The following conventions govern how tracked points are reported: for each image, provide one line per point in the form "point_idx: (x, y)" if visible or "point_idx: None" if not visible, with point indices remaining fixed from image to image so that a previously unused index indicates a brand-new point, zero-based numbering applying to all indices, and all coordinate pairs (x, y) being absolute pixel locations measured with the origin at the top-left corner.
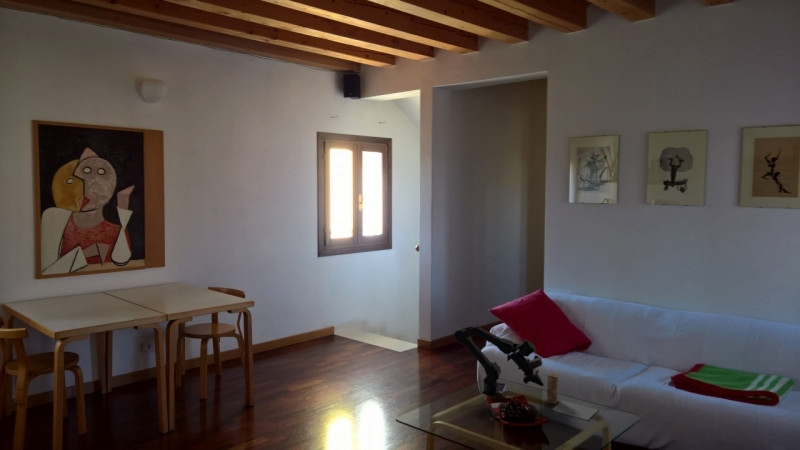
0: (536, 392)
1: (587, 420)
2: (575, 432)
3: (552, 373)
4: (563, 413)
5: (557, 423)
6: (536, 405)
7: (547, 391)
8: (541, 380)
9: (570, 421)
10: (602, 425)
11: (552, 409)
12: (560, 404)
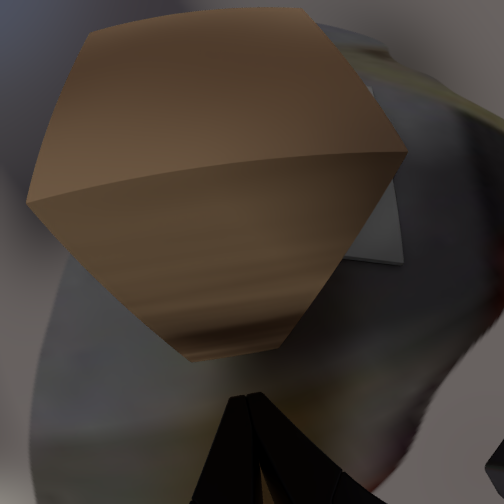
0: (89, 487)
1: (370, 90)
2: (489, 129)
3: (69, 101)
4: (392, 183)
5: (496, 195)
6: (385, 404)
7: (297, 317)
8: (219, 457)
9: (437, 146)
10: (365, 58)
11: (394, 257)
12: None
